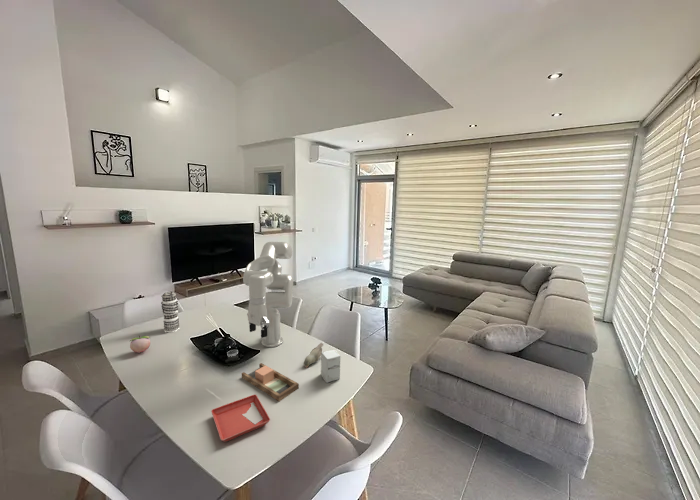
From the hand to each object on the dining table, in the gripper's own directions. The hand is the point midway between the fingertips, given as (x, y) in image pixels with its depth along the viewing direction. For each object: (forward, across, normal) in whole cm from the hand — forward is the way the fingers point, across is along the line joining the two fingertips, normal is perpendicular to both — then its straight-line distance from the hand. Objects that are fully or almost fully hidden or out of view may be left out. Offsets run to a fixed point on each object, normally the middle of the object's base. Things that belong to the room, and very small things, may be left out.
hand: (258, 334), depth 144 cm
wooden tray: (+21, +10, -1) cm, 23 cm away
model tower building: (+20, -83, -10) cm, 86 cm away
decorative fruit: (+20, -65, -32) cm, 75 cm away
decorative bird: (+21, +12, +26) cm, 35 cm away
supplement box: (+21, +28, +22) cm, 41 cm away
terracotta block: (+20, +7, -2) cm, 22 cm away
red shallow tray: (+23, +22, -23) cm, 39 cm away
